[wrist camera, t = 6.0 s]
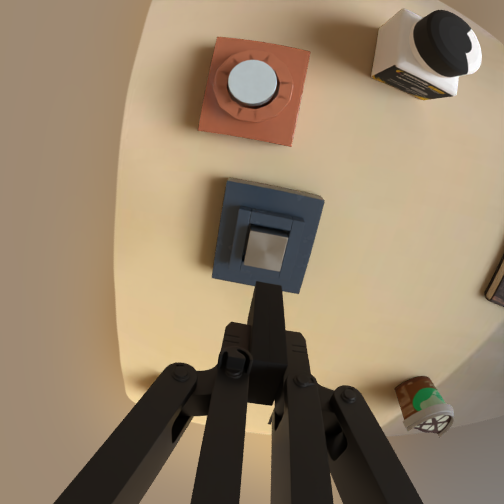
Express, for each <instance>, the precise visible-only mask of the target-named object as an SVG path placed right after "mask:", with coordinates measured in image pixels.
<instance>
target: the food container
mask: <svg viewBox="0 0 504 504" xmlns="http://www.w3.org/2000/svg"><path fill="white" fill-rule="evenodd" d="M395 392H396V395H397V398H398V401H399V404H400V407H401V411H402V414H403V417H404V421H403V423H404V425H405V427H406V428H407V430H408V431H410V430H411V429H412V428H415V429H418V430H420V431H423V432H433V433H437V434H438V436H439V438H440V437H441V436H443V435H444V434H445V433H446V432H447V431H448V430H449V429H450V427H451V426H452V424H453V422H454V413H453V408H452V406H451V405H450V404H446V403H445V402H444V400H443V398H442V397H441V395H440V394H439V392H438V391H437V389H436V387H435V386H434V384H433V383H432V381H431V380H430V378H428V377H425V376H420V377H415V378H412V379H409V380H407V381H405V382H404V383H402V384H400V385H399V386H398V387H396V388H395Z"/></svg>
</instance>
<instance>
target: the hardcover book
mask: <svg viewBox="0 0 504 504" xmlns="http://www.w3.org/2000/svg"><path fill="white" fill-rule="evenodd" d="M485 298H486V299H487V300H489V301H491V302H493V303H496V304H498V305H500V306H503V307H504V255H503V257H502V259H501V262H500V264H499V266H498V268H497V270H496V272H495V274H494V276H493V278H492V280H491V282H490V284H489V286H488V288H487V289H486V291H485Z"/></svg>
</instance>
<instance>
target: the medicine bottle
mask: <svg viewBox="0 0 504 504" xmlns="http://www.w3.org/2000/svg"><path fill="white" fill-rule="evenodd" d="M481 57H482V54H481V47H480V44H479V41H478V39H477V37H476V35H475V33H474V32H473V30H472V29H471V28H470V27H469V25H468V24H467V23H466V22H465V21H464V20H462V19H461V18H460V17H458V16H457V15H455V14H453V13H451V12H448V11H445V10H437V11H434V12H432V13H430V14H429V15H427V16H426V17H424V18H423V17H421V16H419V15H417V14H415V13H413V12H411V11H409V10H407V9H401V10H400V11H399V12H398V13H397V14H395V15H394V16H393V17H392V18H390V19H389V20H388V21H387V22H386V23H385V24H383V25H382V26H381V27H380V28H379V31H378V38H377V44H376V51H375V57H374V62H373V68H372V73H371V77H372V78H373V79H375V80H378V81H381V82H383V83H385V84H388V85H390V86H393V87H395V88H397V89H400V90H402V91H404V92H407V93H409V94H411V95H413V96H415V97H417V98H419V99H421V100H428V99H435V98H443V97H451V96H456V94H457V87H458V79H459V76H463V75H468V74H472V73H474V72H476V71H477V70H478V68H479V67H480V64H481Z"/></svg>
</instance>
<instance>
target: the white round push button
mask: <svg viewBox="0 0 504 504" xmlns="http://www.w3.org/2000/svg"><path fill="white" fill-rule="evenodd" d="M228 86H229V89H230V92H231V93H232V95H233V96H234V97H235V98H236V99H237V100H238V101H239V102H240V103H242V104H245V105H248V106H259V105H262V104H264V103H266V102H268V101H269V100H270V99H271V98H272V97H273V95H274V93H275V90H276V86H277V78H276V74H275V72H274V70H273V69H272V68H271V67H270V66H269V65H268V64H266V63H264V62H262V61H259V60H246V61H243V62H241V63H239V64H237V65H236V66H235V67H234V68H233V69H232V71H231V72H230V74H229V77H228Z"/></svg>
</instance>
